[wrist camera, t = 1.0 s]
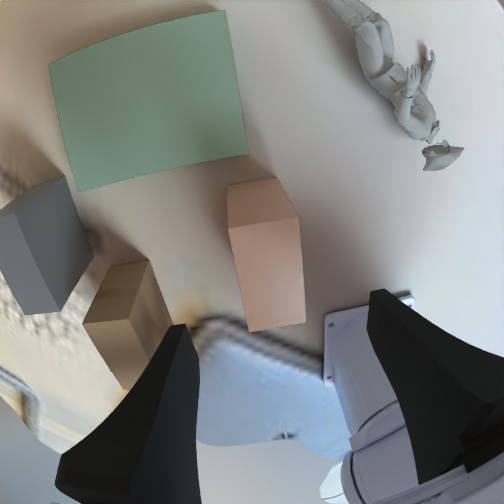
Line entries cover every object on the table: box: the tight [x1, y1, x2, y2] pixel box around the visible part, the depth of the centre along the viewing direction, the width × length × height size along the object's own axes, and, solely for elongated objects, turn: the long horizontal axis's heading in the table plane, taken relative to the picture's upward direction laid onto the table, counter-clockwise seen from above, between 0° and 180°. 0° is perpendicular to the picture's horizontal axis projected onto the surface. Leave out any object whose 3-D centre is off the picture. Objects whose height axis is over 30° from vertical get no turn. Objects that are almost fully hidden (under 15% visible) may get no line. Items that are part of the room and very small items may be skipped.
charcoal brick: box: [0, 176, 94, 315], centre depth 16 cm, size 6×3×6 cm, turn 8°
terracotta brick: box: [227, 178, 306, 332], centre depth 17 cm, size 6×3×6 cm, turn 8°
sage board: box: [49, 10, 249, 192], centre depth 15 cm, size 8×10×2 cm
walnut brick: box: [82, 260, 174, 390], centre depth 19 cm, size 6×3×6 cm, turn 8°
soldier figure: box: [319, 0, 464, 171], centre depth 14 cm, size 8×5×12 cm
